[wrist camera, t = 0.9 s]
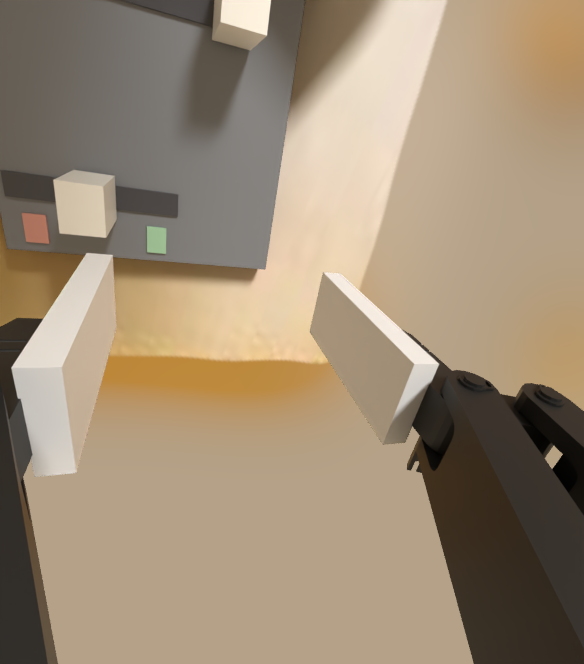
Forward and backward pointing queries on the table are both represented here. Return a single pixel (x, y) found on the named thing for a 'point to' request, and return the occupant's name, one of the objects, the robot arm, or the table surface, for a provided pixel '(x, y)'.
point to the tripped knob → (85, 203)
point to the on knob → (240, 22)
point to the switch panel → (144, 125)
